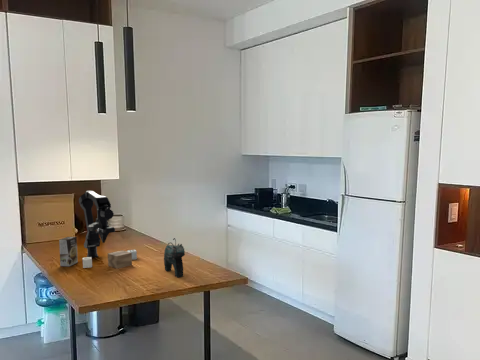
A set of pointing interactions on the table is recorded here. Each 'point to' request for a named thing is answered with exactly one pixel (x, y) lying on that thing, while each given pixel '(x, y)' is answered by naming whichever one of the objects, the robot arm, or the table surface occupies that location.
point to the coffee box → (68, 251)
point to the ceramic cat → (174, 258)
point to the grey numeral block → (133, 253)
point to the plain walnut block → (119, 259)
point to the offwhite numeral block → (87, 262)
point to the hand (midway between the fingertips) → (103, 242)
